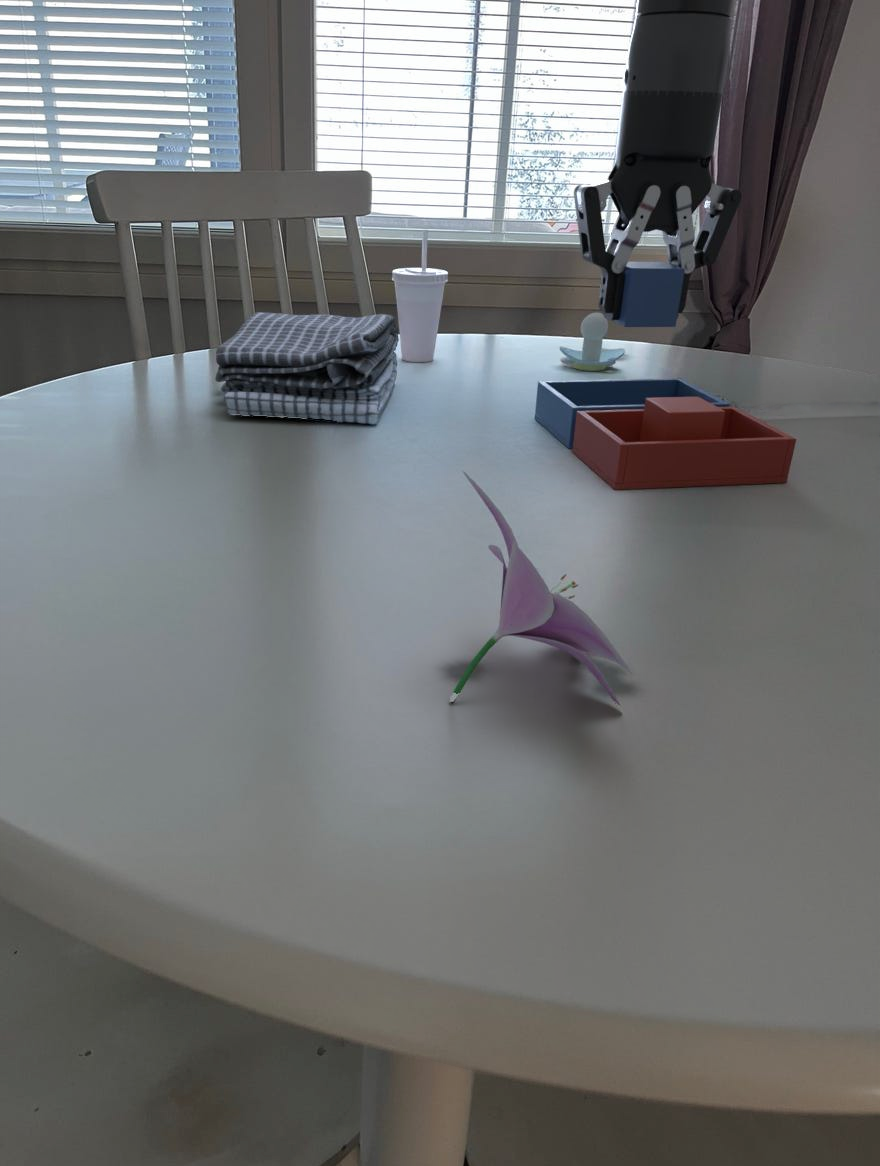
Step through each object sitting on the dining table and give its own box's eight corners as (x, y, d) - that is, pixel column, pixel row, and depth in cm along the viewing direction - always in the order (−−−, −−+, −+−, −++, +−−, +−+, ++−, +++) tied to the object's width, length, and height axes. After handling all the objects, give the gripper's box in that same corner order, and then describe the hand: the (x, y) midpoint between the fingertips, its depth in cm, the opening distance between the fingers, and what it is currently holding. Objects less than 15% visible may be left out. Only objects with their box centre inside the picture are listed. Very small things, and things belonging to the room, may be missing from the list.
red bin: (727, 446, 81) (735, 406, 80) (786, 482, 73) (796, 438, 71) (571, 452, 79) (576, 410, 77) (614, 490, 71) (620, 444, 69)
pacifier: (553, 362, 111) (560, 371, 105) (559, 306, 108) (565, 313, 103) (615, 363, 111) (625, 373, 105) (622, 308, 108) (632, 315, 103)
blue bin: (675, 414, 90) (681, 378, 89) (722, 443, 82) (730, 403, 80) (534, 418, 88) (537, 381, 86) (568, 448, 80) (572, 407, 78)
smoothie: (419, 367, 106) (424, 233, 99) (379, 358, 110) (380, 228, 103) (455, 359, 110) (462, 230, 104) (415, 350, 114) (418, 225, 107)
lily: (601, 818, 38) (725, 612, 36) (346, 682, 38) (456, 470, 36) (576, 736, 50) (669, 577, 48) (381, 633, 50) (465, 470, 48)
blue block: (653, 317, 83) (661, 261, 81) (675, 327, 79) (685, 268, 77) (604, 317, 82) (611, 261, 80) (624, 327, 78) (632, 268, 76)
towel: (401, 382, 100) (402, 305, 96) (376, 429, 84) (377, 338, 80) (261, 375, 101) (258, 299, 97) (211, 420, 85) (204, 331, 81)
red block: (689, 451, 78) (698, 396, 76) (714, 468, 74) (725, 411, 72) (637, 453, 77) (645, 397, 75) (660, 470, 73) (669, 412, 71)
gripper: (602, 82, 68) (575, 327, 76) (783, 90, 70) (738, 326, 78) (568, 86, 74) (546, 312, 82) (734, 93, 77) (697, 311, 85)
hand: (640, 317), depth 80 cm, fingers closed on blue block, 4 cm apart
